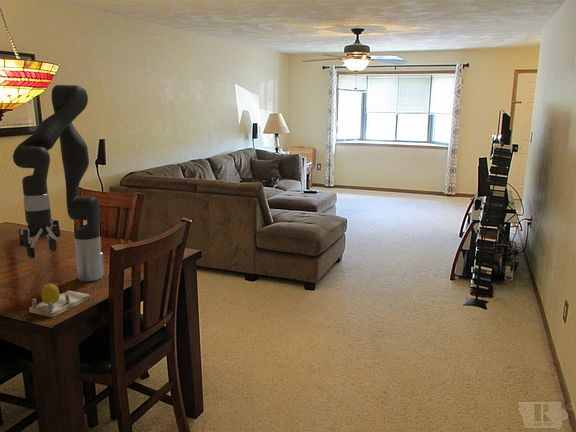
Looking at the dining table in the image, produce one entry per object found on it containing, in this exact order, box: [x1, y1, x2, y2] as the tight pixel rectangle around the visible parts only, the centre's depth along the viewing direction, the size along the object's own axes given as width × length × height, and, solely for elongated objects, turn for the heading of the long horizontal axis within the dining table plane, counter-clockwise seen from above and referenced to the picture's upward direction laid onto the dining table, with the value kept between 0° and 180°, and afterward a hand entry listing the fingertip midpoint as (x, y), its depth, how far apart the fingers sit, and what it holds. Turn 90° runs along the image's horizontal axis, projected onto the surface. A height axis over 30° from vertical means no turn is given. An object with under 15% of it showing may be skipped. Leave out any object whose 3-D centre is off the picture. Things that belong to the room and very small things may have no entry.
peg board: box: [29, 290, 91, 318], centre depth 166 cm, size 17×10×4 cm, turn 159°
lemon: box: [40, 282, 60, 305], centre depth 161 cm, size 6×6×8 cm
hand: (42, 254), depth 160 cm, fingers open, 8 cm apart
